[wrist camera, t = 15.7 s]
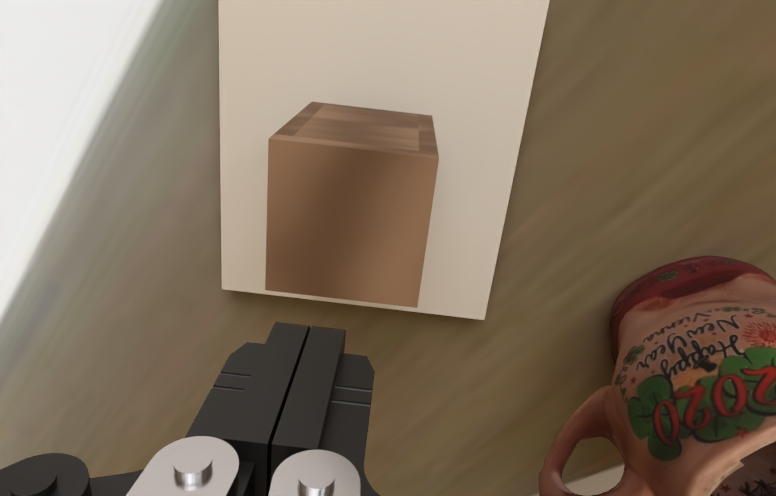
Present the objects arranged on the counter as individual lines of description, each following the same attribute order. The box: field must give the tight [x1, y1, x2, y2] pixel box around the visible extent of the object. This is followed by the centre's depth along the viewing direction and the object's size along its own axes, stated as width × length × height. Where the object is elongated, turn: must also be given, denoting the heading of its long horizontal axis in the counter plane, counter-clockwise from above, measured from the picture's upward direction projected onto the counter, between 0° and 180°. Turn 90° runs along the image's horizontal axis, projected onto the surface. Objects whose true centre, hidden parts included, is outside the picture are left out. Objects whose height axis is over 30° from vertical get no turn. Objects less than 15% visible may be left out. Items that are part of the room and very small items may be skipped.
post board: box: [219, 0, 550, 320], centre depth 26 cm, size 16×18×11 cm
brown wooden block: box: [265, 102, 439, 308], centre depth 25 cm, size 6×6×9 cm
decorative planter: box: [539, 256, 776, 496], centre depth 29 cm, size 20×12×14 cm, turn 123°
